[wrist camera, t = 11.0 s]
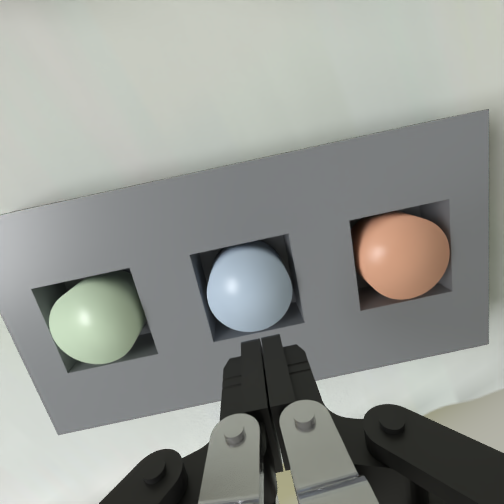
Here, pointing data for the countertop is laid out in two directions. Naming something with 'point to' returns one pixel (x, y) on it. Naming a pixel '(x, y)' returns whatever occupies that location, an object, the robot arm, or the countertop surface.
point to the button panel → (242, 231)
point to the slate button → (249, 287)
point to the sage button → (98, 318)
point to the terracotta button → (399, 253)
